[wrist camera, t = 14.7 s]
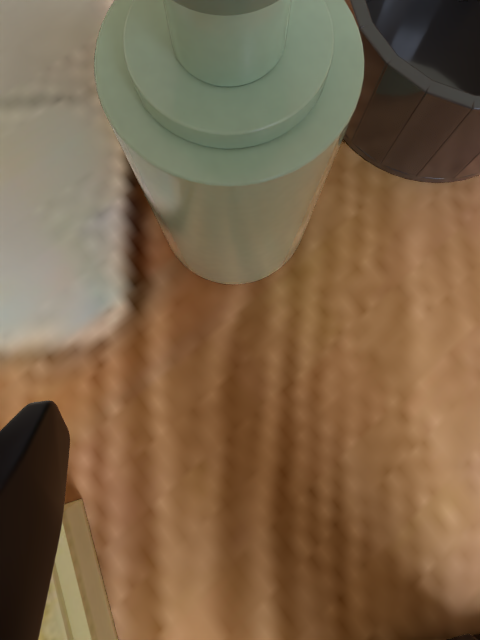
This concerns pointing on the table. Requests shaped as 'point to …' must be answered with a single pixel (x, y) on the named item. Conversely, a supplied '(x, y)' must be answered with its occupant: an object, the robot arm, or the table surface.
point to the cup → (419, 88)
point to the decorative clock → (76, 585)
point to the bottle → (230, 119)
